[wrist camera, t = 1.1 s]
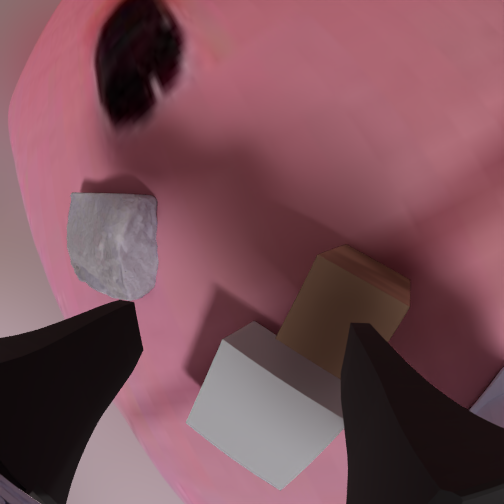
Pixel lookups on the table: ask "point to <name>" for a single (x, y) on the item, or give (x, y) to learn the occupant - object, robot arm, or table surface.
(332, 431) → the plinth
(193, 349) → the table surface
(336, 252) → the walnut block
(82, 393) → the robot arm
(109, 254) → the stone block
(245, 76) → the table surface
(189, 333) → the table surface
